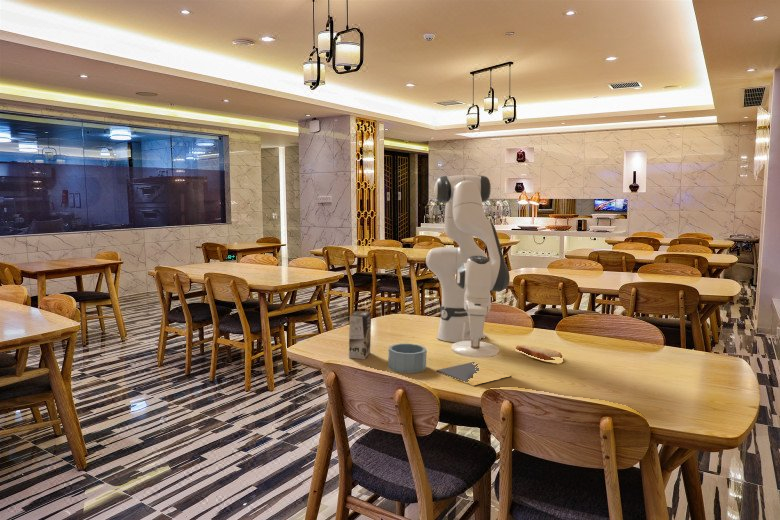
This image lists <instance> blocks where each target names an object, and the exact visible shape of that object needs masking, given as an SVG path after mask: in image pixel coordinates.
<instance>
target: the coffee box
mask: <svg viewBox="0 0 780 520" xmlns="http://www.w3.org/2000/svg"><path fill="white" fill-rule="evenodd" d="M348 329H349V333H348V334H349V335H348V336H349V337H348V338H349V339H348V340H349V341H348V358H349V359H358V360H359V359H360V360H366V359H367V357H368V356H369V355H370V353H371V341H372V340H371V338H372V337H371V335H372V334H371V333H372V312H371V311H363V310H361V311H360V310H355V311H354V312H353V313H352V314H350V315H349V328H348Z"/></svg>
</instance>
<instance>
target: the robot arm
mask: <svg viewBox="0 0 780 520" xmlns="http://www.w3.org/2000/svg"><path fill="white" fill-rule="evenodd" d="M433 192H434V196H435V199H436V200H437V201H438V202H439V203H443V204H445V208H444V209H445V210H444V229H443V230H444V234H445V236H446V237H447V238H449V240H451V241H453V242H455V243H457V245H458V247H455V246H454V247H451V246H450V247H449V246H439V247H433V248H431V249H430V250H428V252H427V254H426V256H425V264H426V267H427V268H428V269H429V270H430V271H431V272H432V273H433V274H434V275H435V276H436V278H437V279H438V281H439V283H440V286H441V287H440V288H441V304H440V320H439V326H438V330H437V335H436V338H437V339H438V340H440V341H444V342H449V343H456V342H461V341H471V338H473V346H478V340H479V338H480V340H482V339H481V338H483V339H485V338H484V337H486V338H488V335H487V333H485V332H484V328H485V327H484V326H485V322H486V321H485V320H486V316H487V315H488V313H489V312H490V311H491V303H492V302H491V299H492V298H491V297H492V295H491V292H499V293H500V292H502V291H503V290H505V289H506V288H507V287H508V286H509V284H510V281H511V280H510V279H511V278H510V272H509V268H508V266H507V263H506V260H505V258H504V254H503V250H502V246H501V244H500V239H499V237H498V233H497V230H496V228H495V225H494V223H493V222H492V221H491V220H489V219H488V217H487V216H486V214H485V212H484V207H483V203H485V202H487V200H490V196H491V194H492V184H491V181H490V179H489V178H488V177H487V176H486V175H485V176H484V175H480V174H479V175H473V174H472V175H471V174H462V175H461V174H459V175H449V176H447V175H443V176H439V177H438V178H437V179H436V181H435V184H434V187H433ZM474 237H475V238H477V239H479V240H481V241H482V242H484V244H485V246H486V248H487V252H488V255H487V253H486V252H485V251H484V250H483V249H482V248H480V247H479V246H478V244H477V243H476V241H475V239H474ZM488 256H489V258H488ZM455 275H456V277H455Z"/></svg>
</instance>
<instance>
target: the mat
mask: <svg viewBox="0 0 780 520" xmlns="http://www.w3.org/2000/svg"><path fill="white" fill-rule="evenodd" d="M472 363H473V364H474V363H475V361H472V362H466V363H463V364H462V363H461V364H458V365H453V366H449V367H445V368H444V367H443V368H439V369H436V372H437V373H439V372H440V374H442V373H443V374H442V375H444V374H445V375H444V376H447V375H448V376H447V377H449V376H451V377H453V378H452V379H454V378H456V379H459V380H462V381H465V382H468V381H469V380H468V379H470V378H473V374H474V373H477V372H476V371H479V368H477V367H478V366H477V365H478V364H479V363H478V364H476V365H473V364H472ZM476 366H477V367H476ZM475 367H476V368H475ZM475 369H476V370H475ZM451 377H450V378H451ZM456 379H455V380H456ZM459 380H458V381H459Z"/></svg>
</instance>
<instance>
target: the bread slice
mask: <svg viewBox="0 0 780 520" xmlns="http://www.w3.org/2000/svg"><path fill="white" fill-rule="evenodd" d="M515 349H517V350H519V351H522V352H524V353H526V354H528V355H531V356H534V357H537V358H540V359H544V360H555V359H553V358H551V357H560V358H562V357H563V355H562V353H561V352H559V351H557V350H554V349H550V348H546V347H545V348H544V347H537V346H529V345H522V344H521V345H519V344H518V345H516V347H515Z"/></svg>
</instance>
